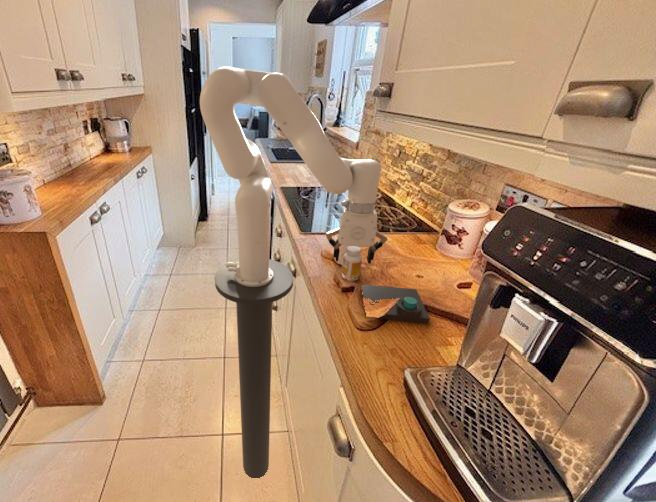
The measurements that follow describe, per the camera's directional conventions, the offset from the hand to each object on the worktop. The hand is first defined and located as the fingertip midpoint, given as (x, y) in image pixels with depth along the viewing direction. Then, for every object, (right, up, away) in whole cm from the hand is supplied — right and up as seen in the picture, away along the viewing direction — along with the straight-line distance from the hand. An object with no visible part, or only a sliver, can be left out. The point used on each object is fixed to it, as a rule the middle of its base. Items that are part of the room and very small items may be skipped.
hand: (352, 260), depth 98 cm
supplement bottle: (0, -5, +3) cm, 6 cm away
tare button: (+10, -11, -16) cm, 22 cm away
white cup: (+1, -1, +12) cm, 12 cm away
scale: (+7, -12, -10) cm, 17 cm away
